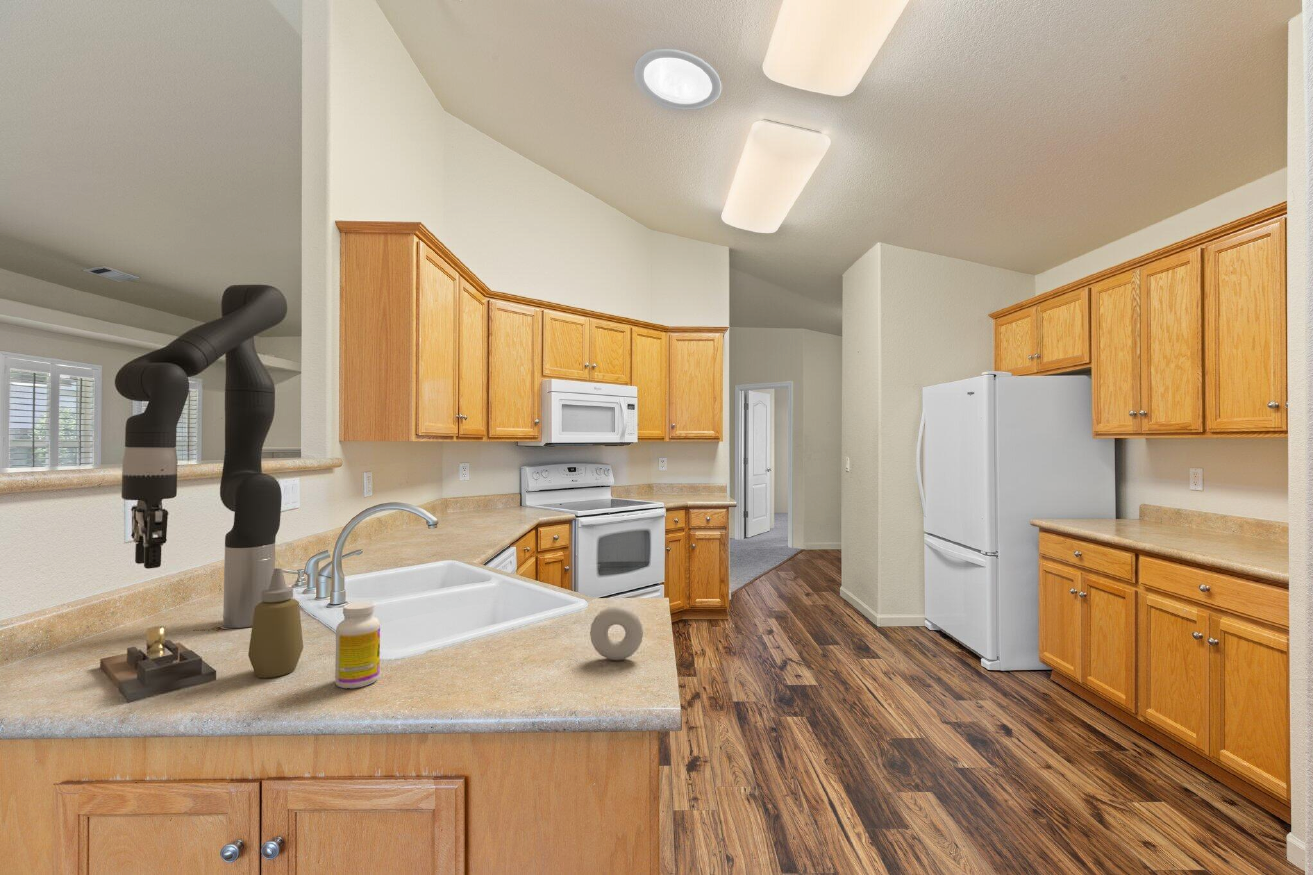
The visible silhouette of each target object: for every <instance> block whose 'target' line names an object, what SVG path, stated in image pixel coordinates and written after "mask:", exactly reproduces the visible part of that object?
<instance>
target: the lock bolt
mask: <svg viewBox="0 0 1313 875" xmlns="http://www.w3.org/2000/svg"><path fill="white" fill-rule="evenodd" d="M165 640H166V626H165V625H158V626H157V625H156V626H151V627H148V628H146V646H143V647H140V648H138V650H139V651H140V652H141V653H142V654H143V660H148V659H151V660H152V661H153V662H154V663H155V664H156V665H157V666H158V667H159V666H163V665H168V664H172V663H173V653H171V652H170V651H169V650H168V649H166V648H165Z"/></svg>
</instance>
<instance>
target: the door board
mask: <svg viewBox="0 0 1313 875" xmlns="http://www.w3.org/2000/svg"><path fill="white" fill-rule="evenodd" d="M165 648H166V649H168V650H169V651H170V652H171V653H173V663H172V664H168V665H163V666H159V667H158V666H157V665H156V664H155V663H154V662H153V661H152V660H151V659H148V660H143V654H142V653H141V652H140V651H139V648H137V647H136V646H130V647H127V648H126V653H122V654H118V655H113V656H108V657H104V658H100V659H99V661H100V662H99V667H100V669H101V670H102V671H103V673H104V674H105V675H106V677H107V678H108V679H109V680H110V681H111V683H112V684H113V685H114V686H115V687H116V689H117V688H118V689H117V690H118V691H119V692H120V694H121V695H122V696H123V697H124V699H125V700H126V699H127V700H126V701H127V702H128V703H132V702H136V701H139V700H140V701H141V700H143V699H147V698H146V697H148V698H152V697H155V696H158V695H161V694H162V695H163V694H168V693H170V691H171V692H174V690H175V691H178V690H181V689H185V688H190V687H193V686H197V685H200V684H206V683H208V682H209V683H210V682H213V681H217V670H216V669H215V668H213V667H212V666H211V665H210V664H208V663H207V662H206V661H204V660H203V657H201V656H200V655H199V654H197V653H196V652H195V651H193V650H192V649H189V648H187V647H186V646H185V645H183V644H182V643H181V642H176V643H174V642H173V641H171V640H170V639H165ZM189 686H190V687H189ZM154 695H155V696H154ZM151 696H152V697H151Z"/></svg>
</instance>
